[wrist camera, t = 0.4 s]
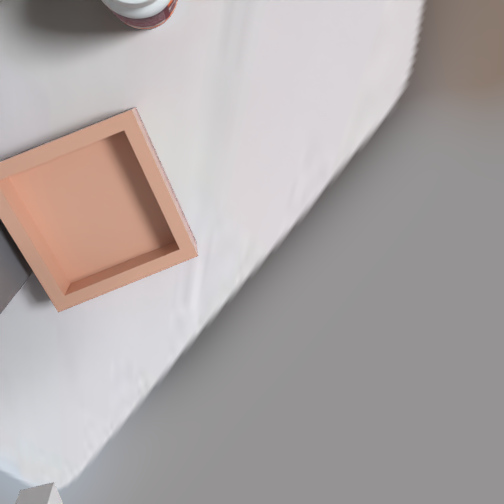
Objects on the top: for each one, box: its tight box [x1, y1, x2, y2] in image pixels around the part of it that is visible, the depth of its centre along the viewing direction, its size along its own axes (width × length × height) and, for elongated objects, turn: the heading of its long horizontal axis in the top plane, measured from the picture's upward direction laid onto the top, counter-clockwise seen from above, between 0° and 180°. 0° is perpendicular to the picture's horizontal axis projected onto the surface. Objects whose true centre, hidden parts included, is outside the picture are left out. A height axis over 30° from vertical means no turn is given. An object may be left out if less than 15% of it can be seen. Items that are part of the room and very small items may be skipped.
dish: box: [0, 107, 198, 312], centre depth 33 cm, size 11×11×3 cm
